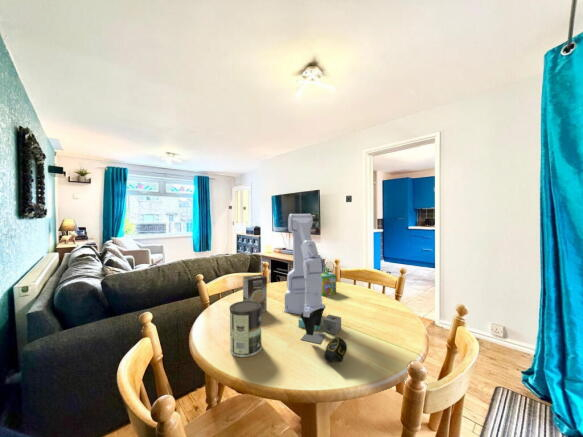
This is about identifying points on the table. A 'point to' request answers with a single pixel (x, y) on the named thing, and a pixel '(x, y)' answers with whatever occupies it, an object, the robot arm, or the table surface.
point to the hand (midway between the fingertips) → (313, 329)
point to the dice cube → (332, 324)
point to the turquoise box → (301, 324)
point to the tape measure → (335, 350)
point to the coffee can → (245, 328)
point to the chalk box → (328, 283)
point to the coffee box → (255, 290)
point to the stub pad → (314, 338)
